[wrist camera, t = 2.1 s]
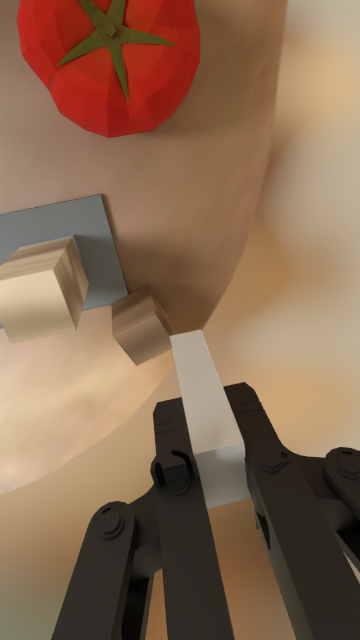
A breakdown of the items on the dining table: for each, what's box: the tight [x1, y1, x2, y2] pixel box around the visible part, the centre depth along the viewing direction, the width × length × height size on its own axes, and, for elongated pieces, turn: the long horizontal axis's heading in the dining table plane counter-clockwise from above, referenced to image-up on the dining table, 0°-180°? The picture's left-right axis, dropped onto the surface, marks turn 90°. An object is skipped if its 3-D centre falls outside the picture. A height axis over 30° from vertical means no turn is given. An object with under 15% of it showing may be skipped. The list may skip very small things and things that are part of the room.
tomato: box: [17, 0, 200, 138], centre depth 22 cm, size 11×12×9 cm
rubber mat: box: [0, 194, 128, 328], centre depth 32 cm, size 11×19×1 cm, turn 100°
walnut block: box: [112, 284, 173, 366], centre depth 34 cm, size 4×4×6 cm
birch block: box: [0, 235, 89, 344], centre depth 28 cm, size 5×5×10 cm
